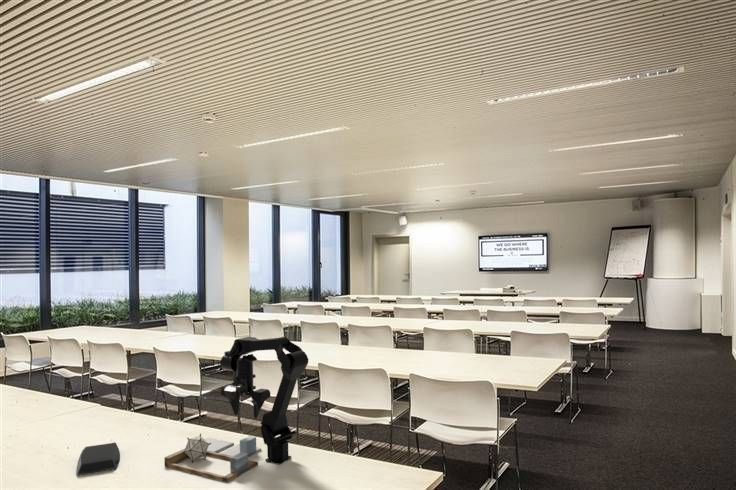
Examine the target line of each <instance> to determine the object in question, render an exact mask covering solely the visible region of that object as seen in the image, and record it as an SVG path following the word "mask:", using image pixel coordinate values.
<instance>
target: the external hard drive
mask: <svg viewBox="0 0 736 490" xmlns="http://www.w3.org/2000/svg"><path fill="white" fill-rule="evenodd" d="M120 461H121V452H120V449H119V446H118V444H117V443H116V442H110V443H102V444H96V445H89V446H85V447H84V448H83V449H82V451H81V452H80V454H79V457H78V460H77V465H76V470H75V474H76V477H79V476H85V475H86V476H87V475H92V474H98V473H104V472H105V473H106V472H110V471H116V470H117V469H118V467H119V465H120Z"/></svg>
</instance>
